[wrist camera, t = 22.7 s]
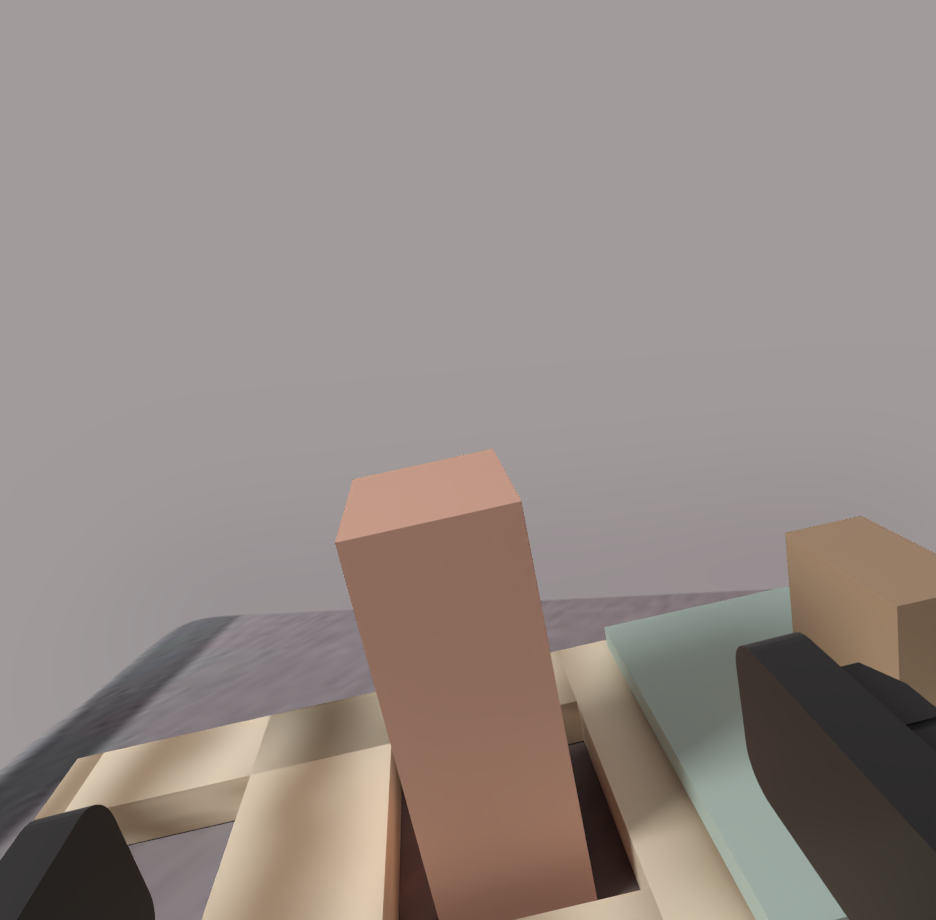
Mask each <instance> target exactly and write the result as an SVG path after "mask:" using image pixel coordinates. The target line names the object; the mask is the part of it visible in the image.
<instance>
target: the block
mask: <svg viewBox="0 0 936 920" xmlns="http://www.w3.org/2000/svg"><path fill="white" fill-rule="evenodd" d="M335 545H336V548H337V551H338V555H339V559H340V563H341V566H342V570H343V574H344V577H345V581H346V585H347V588H348V592H349V595H350V599H351V603H352V606H353V610H354V614H355V617H356V621H357V625H358V628H359V632H360V635H361V639H362V643H363V646H364V650H365V654H366V657H367V661H368V665H369V668H370V672H371V675H372V679H373V683H374V686H375V690H376V694H377V697H378V701H379V704H380V708H381V712H382V715H383V719H384V723H385V726H386V730H387V734H388V737H389V741H390V744H391V748H392V752H393V755H394V759H395V763H396V766H397V770H398V774H399V777H400V781H401V784H402V788H403V792H404V795H405V799H406V803H407V806H408V810H409V814H410V817H411V821H412V824H413V828H414V832H415V835H416V839H417V843H418V846H419V850H420V854H421V857H422V861H423V864H424V868H425V872H426V875H427V879H428V883H429V886H430V890H431V894H432V897H433V901H434V904H435V908H436V912H437V915H438V919H439V920H515V919H520V918H524V917H528V916H532V915H537V914H541V913H545V912H549V911H554V910H558V909H562V908H567V907H571V906H575V905H579V904H584V903H588V902H592V901H596V900H597V895H596V890H595V885H594V879H593V874H592V869H591V864H590V858H589V853H588V848H587V843H586V837H585V832H584V827H583V822H582V816H581V811H580V806H579V801H578V795H577V790H576V785H575V780H574V774H573V769H572V764H571V759H570V753H569V748H568V743H567V738H566V732H565V727H564V722H563V717H562V711H561V706H560V701H559V696H558V690H557V685H556V680H555V675H554V669H553V664H552V659H551V654H550V648H549V643H548V638H547V633H546V627H545V622H544V617H543V612H542V607H541V601H540V596H539V591H538V586H537V580H536V575H535V570H534V565H533V559H532V554H531V549H530V544H529V539H528V533H527V528H526V523H525V517H524V512H523V507H522V502H521V500H520V498H519V496H518V494H517V492H516V490H515V489H514V487H513V485H512V483H511V481H510V479H509V478H508V476H507V474H506V472H505V470H504V468H503V467H502V465H501V463H500V461H499V459H498V458H497V456H496V454H495V452H494V450H493V449H489V450H484V451H480V452H476V453H471V454H467V455H462V456H457V457H453V458H448V459H443V460H440V461H435V462H430V463H425V464H421V465H416V466H411V467H407V468H402V469H398V470H393V471H389V472H385V473H380V474H375V475H370V476H366V477H361V478H357V479H353V481H352V485H351V488H350V492H349V496H348V499H347V502H346V507H345V509H344V513H343V516H342V520H341V524H340V527H339V531H338V534H337V538H336V541H335Z"/></svg>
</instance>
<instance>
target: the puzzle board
mask: <svg viewBox="0 0 936 920" xmlns="http://www.w3.org/2000/svg"><path fill="white" fill-rule="evenodd" d="M550 654H551V659H552V664H553V669H554V675H555V680H556V685H557V690H558V696H559V701H560V706H561V711H562V717H563V722H564V727H565V732H566V738H567V743H568V744H571V743H576V742H580V741H584V742H585V745H586V747H587V750H588V753H589V755H590V758H591V761H592V763H593V766H594V769H595V771H596V774H597V777H598V779H599V782H600V785H601V787H602V790H603V793H604V795H605V798H606V801H607V803H608V806H609V808H610V811H611V814H612V816H613V819H614V822H615V824H616V827H617V830H618V832H619V835H620V838H621V840H622V843H623V846H624V848H625V851H626V854H627V856H628V859H629V862H630V864H631V867H632V870H633V872H634V875H635V878H636V880H637V883H638V886H639V888H640V890H639V891H635V892H630V893H626V894H622V895H618V896H613V897H609V898H605V899H601V900H596V901H592V902H588V903H584V904H579V905H575V906H571V907H567V908H562V909H558V910H554V911H549V912H545V913H541V914H537V915H532V916H528V917H524V918H520V919H515V920H756V919H755V918H754V916H753V914H752V912H751V910H750V908H749V906H748V905H747V903H746V901H745V899H744V897H743V895H742V894H741V892H740V890H739V888H738V886H737V884H736V882H735V881H734V879H733V877H732V875H731V873H730V871H729V870H728V868H727V866H726V864H725V862H724V860H723V858H722V857H721V855H720V853H719V851H718V849H717V847H716V846H715V844H714V842H713V840H712V838H711V836H710V834H709V833H708V831H707V829H706V827H705V825H704V823H703V822H702V820H701V818H700V816H699V814H698V812H697V810H696V809H695V807H694V805H693V803H692V801H691V799H690V798H689V796H688V794H687V792H686V790H685V788H684V786H683V785H682V783H681V781H680V779H679V777H678V775H677V774H676V772H675V770H674V768H673V766H672V764H671V762H670V761H669V759H668V757H667V755H666V753H665V751H664V750H663V748H662V746H661V744H660V742H659V740H658V738H657V737H656V735H655V733H654V731H653V729H652V727H651V726H650V724H649V722H648V720H647V718H646V716H645V715H644V713H643V711H642V709H641V707H640V705H639V703H638V702H637V700H636V698H635V696H634V694H633V692H632V691H631V689H630V687H629V685H628V683H627V681H626V679H625V678H624V676H623V674H622V672H621V670H620V668H619V667H618V665H617V663H616V661H615V659H614V657H613V655H612V654H611V652H610V650H609V648H608V646H607V640H604V641H599V642H595V643H590V644H586V645H581V646H577V647H573V648H568V649H564V650H559V651H555V652H550ZM401 801H402V784H401V781H400V777H399V774H398V770H397V766H396V763H395V759H394V755H393V752H392V748H391V744H390V741H389V737H388V734H387V730H386V726H385V723H384V719H383V715H382V712H381V708H380V704H379V701H378V697H377V694H376V692H372V693H368V694H364V695H359V696H355V697H350V698H346V699H341V700H337V701H332V702H328V703H324V704H319V705H315V706H310V707H306V708H301V709H297V710H292V711H288V712H283V713H279V714H275V715H270V716H266V717H261V718H257V719H252V720H248V721H243V722H239V723H235V724H230V725H226V726H221V727H217V728H212V729H208V730H203V731H199V732H195V733H190V734H186V735H181V736H177V737H172V738H168V739H163V740H159V741H154V742H150V743H146V744H141V745H137V746H132V747H128V748H123V749H119V750H114V751H110V752H106V753H101V754H97V755H92V756H88V757H83V758H79V759H77V760H76V762H75V763H74V765H73V766H72V767H71V769H70V770H69V772H68V773H67V774H66V776H65V777H64V779H63V780H62V781H61V783H60V784H59V786H58V787H57V788H56V790H55V791H54V793H53V794H52V795H51V797H50V798H49V800H48V801H47V802H46V804H45V805H44V807H43V808H42V809H41V811H40V812H39V814H38V815H37V816H36V818H35V819H34V820H36V819H40V818H44V817H48V816H52V815H56V814H60V813H64V812H68V811H72V810H76V809H80V808H84V807H88V806H92V805H96V804H99V805H103V806H105V807H107V808H108V809H109V810H110V811H111V812H112V814H113V816H114V817H115V819H116V822H117V824H118V826H119V828H120V830H121V832H122V834H123V837H124V839H125V841H126V843H127V845H129V844H134V843H138V842H143V841H147V840H151V839H156V838H160V837H164V836H169V835H173V834H178V833H182V832H186V831H191V830H195V829H199V828H204V827H208V826H213V825H217V824H221V823H226V822H230V821H234V820H235V822H234V825H233V828H232V831H231V834H230V837H229V840H228V843H227V846H226V849H225V852H224V855H223V858H222V861H221V864H220V867H219V870H218V873H217V876H216V879H215V882H214V885H213V888H212V891H211V894H210V897H209V900H208V903H207V906H206V909H205V912H204V915H203V917H202V920H399V883H400V842H401Z"/></svg>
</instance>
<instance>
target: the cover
mask: <svg viewBox="0 0 936 920" xmlns="http://www.w3.org/2000/svg"><path fill="white" fill-rule="evenodd" d="M785 537H786V550H787V562H788V575H789V586H787V587H782V588H778V589H773V590H769V591H764V592H760V593H755V594H751V595H746V596H742V597H738V598H733V599H729V600H724V601H720V602H715V603H711V604H706V605H702V606H697V607H693V608H688V609H684V610H680V611H675V612H671V613H666V614H662V615H657V616H653V617H648V618H644V619H639V620H635V621H631V622H626V623H622V624H617V625H613V626H608V627H604V628H605V634H606V640H607V646H608V648H609V650H610V652H611V654H612V655H613V657H614V659H615V661H616V663H617V665H618V667H619V668H620V670H621V672H622V674H623V676H624V678H625V679H626V681H627V683H628V685H629V687H630V689H631V691H632V692H633V694H634V696H635V698H636V700H637V702H638V703H639V705H640V707H641V709H642V711H643V713H644V715H645V716H646V718H647V720H648V722H649V724H650V726H651V727H652V729H653V731H654V733H655V735H656V737H657V738H658V740H659V742H660V744H661V746H662V748H663V750H664V751H665V753H666V755H667V757H668V759H669V761H670V762H671V764H672V766H673V768H674V770H675V772H676V774H677V775H678V777H679V779H680V781H681V783H682V785H683V786H684V788H685V790H686V792H687V794H688V796H689V798H690V799H691V801H692V803H693V805H694V807H695V809H696V810H697V812H698V814H699V816H700V818H701V820H702V822H703V823H704V825H705V827H706V829H707V831H708V833H709V834H710V836H711V838H712V840H713V842H714V844H715V846H716V847H717V849H718V851H719V853H720V855H721V857H722V858H723V860H724V862H725V864H726V866H727V868H728V870H729V871H730V873H731V875H732V877H733V879H734V881H735V882H736V884H737V886H738V888H739V890H740V892H741V894H742V895H743V897H744V899H745V901H746V903H747V905H748V906H749V908H750V910H751V912H752V914H753V916H754V918H755V919H756V920H849V919H848V918H847V916H846V915H845V913H844V912H843V910H842V909H841V907H840V906H839V904H838V903H837V902H836V900H835V899H834V897H833V896H832V894H831V893H830V891H829V890H828V888H827V887H826V885H825V884H824V883H823V881H822V880H821V878H820V877H819V875H818V874H817V872H816V871H815V869H814V868H813V866H812V865H811V864H810V862H809V861H808V859H807V858H806V856H805V855H804V853H803V852H802V850H801V849H800V848H799V846H798V845H797V843H796V842H795V840H794V839H793V837H792V836H791V834H790V833H789V831H788V830H787V829H786V827H785V826H784V824H783V823H782V821H781V820H780V818H779V817H778V815H777V814H776V812H775V811H774V810H773V808H772V807H771V805H770V804H769V802H768V801H767V799H766V797H765V795H764V794H763V792H762V790H761V788H760V786H759V784H758V781H757V779H756V777H755V774H754V772H753V769H752V766H751V763H750V760H749V756H748V752H747V747H746V740H745V732H744V724H743V716H742V708H741V700H740V693H739V685H738V677H737V669H736V650H737V648H738V647H739V646H742V645H746V644H750V643H754V642H758V641H762V640H766V639H770V638H774V637H778V636H782V635H786V634H790V633H794V632H800V633H802V634H804V635H806V636H807V637H808V638H809V639H811V640H812V641H813V642H814V643H815V644H816V645H817V646H818V647H819V648H821V649H822V650H823V651H824V652H825V653H826V654H827V655H828V656H830V657H831V658H832V659H833V660H834V661H835V662H836V663H837V664H838V665H840V666H845V665H849V664H853V663H857V662H859V663H862V664H864V665H866V666H868V667H871V668H873V669H875V670H877V671H880V672H882V673H884V674H886V675H889V676H891V677H893V678H895V679H898V680H900V681H902V682H904V683H907V684H908V685H909V686H910V687H911V688H913V689H914V690H915V691H916V692H918V693H919V694H920V695H921V696H923V697H924V698H925V699H926V700H927V701H929V702H930V703H931V704H932V705H934V706H935V707H936V554H935V553H933V552H931V551H929V550H927V549H925V548H923V547H921V546H919V545H918V544H916V543H914V542H912V541H910V540H908V539H906V538H904V537H902V536H900V535H898V534H896V533H894V532H892V531H890V530H888V529H886V528H884V527H882V526H880V525H878V524H876V523H874V522H872V521H870V520H868V519H866V518H864V517H862V516H859V517H854V518H850V519H845V520H841V521H836V522H832V523H828V524H823V525H818V526H814V527H809V528H805V529H801V530H796V531H791V532H787V533H785Z"/></svg>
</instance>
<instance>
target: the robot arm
mask: <svg viewBox="0 0 936 920" xmlns="http://www.w3.org/2000/svg"><path fill="white" fill-rule="evenodd" d="M736 669H737V677H738V685H739V693H740V700H741V708H742V716H743V724H744V732H745V740H746V747H747V752H748V756H749V760H750V763H751V766H752V769H753V772H754V774H755V777H756V779H757V781H758V784H759V786H760V788H761V790H762V792H763V794H764V795H765V797H766V799H767V801H768V802H769V804H770V805H771V807H772V808H773V810H774V811H775V812H776V814H777V815H778V817H779V818H780V820H781V821H782V823H783V824H784V826H785V827H786V829H787V830H788V831H789V833H790V834H791V836H792V837H793V839H794V840H795V842H796V843H797V845H798V846H799V848H800V849H801V850H802V852H803V853H804V855H805V856H806V858H807V859H808V861H809V862H810V864H811V865H812V866H813V868H814V869H815V871H816V872H817V874H818V875H819V877H820V878H821V880H822V881H823V883H824V884H825V885H826V887H827V888H828V890H829V891H830V893H831V894H832V896H833V897H834V899H835V900H836V902H837V903H838V904H839V906H840V907H841V909H842V910H843V912H844V913H845V915H846V916H847V918H848V919H849V920H936V707H935V706H934V705H932V704H931V703H930V702H929V701H927V700H926V699H925V698H924V697H923V696H921V695H920V694H919V693H918V692H916V691H915V690H914V689H913V688H911V687H910V686H909V685H908V684H907V683H904V682H902V681H900V680H898V679H895V678H893V677H891V676H889V675H886V674H884V673H882V672H880V671H877V670H875V669H873V668H871V667H868V666H866V665H864V664H862V663H859V662H857V663H853V664H849V665H845V666H840V665H838V664H837V663H836V662H835V661H834V660H833V659H832V658H831V657H830V656H828V655H827V654H826V653H825V652H824V651H823V650H822V649H821V648H819V647H818V646H817V645H816V644H815V643H814V642H813V641H812V640H811V639H809V638H808V637H807V636H806V635H804V634H802V633H800V632H794V633H790V634H786V635H782V636H778V637H774V638H770V639H766V640H762V641H758V642H754V643H750V644H746V645H742V646H739V647H738V648H737V650H736ZM0 920H155V912H154V905H153V901H152V898H151V895H150V892H149V890H148V888H147V886H146V884H145V882H144V879H143V877H142V875H141V873H140V871H139V869H138V867H137V864H136V862H135V860H134V858H133V856H132V854H131V852H130V849H129V847H128V845H127V843H126V841H125V839H124V837H123V834H122V832H121V830H120V828H119V826H118V824H117V822H116V819H115V817H114V816H113V814H112V812H111V811H110V810H109V809H108V808H107V807H105V806H103V805H99V804H96V805H92V806H88V807H84V808H80V809H76V810H72V811H68V812H64V813H60V814H56V815H52V816H48V817H44V818H40V819H36V820H34V821H32V822H30V823H29V824H28V825H27V826H25V827H24V829H23V830H22V831H21V832H20V833H19V835H18V836H17V838H16V839H15V841H14V842H13V843H12V845H11V846H10V848H9V849H8V850H7V852H6V853H5V855H4V856H3V858H2V859H1V860H0Z"/></svg>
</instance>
